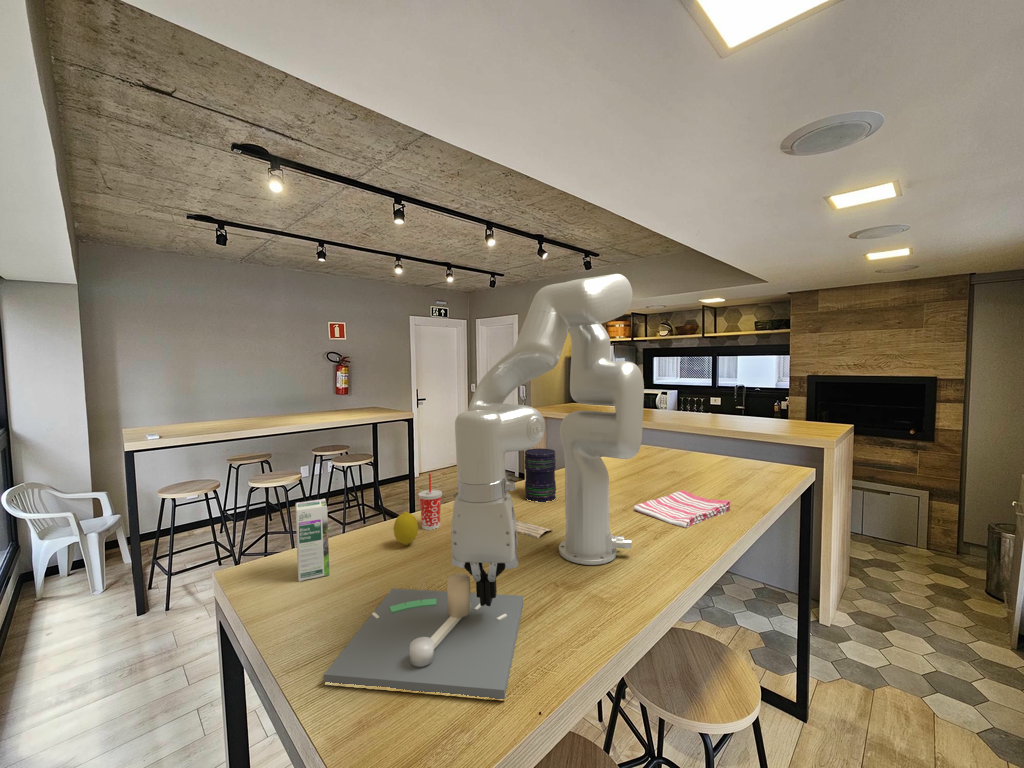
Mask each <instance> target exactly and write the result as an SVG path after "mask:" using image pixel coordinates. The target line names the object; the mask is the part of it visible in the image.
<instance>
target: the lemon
mask: <svg viewBox="0 0 1024 768" xmlns="http://www.w3.org/2000/svg"><path fill="white" fill-rule="evenodd" d="M393 525H394V526H393V534H394V538H395V540H396V541H397V542H398V543H400V544H402V545H404V546H406V547H407V546H409V544H410V543H412V542H414V541H415V539H416V538H417V536H418V532H419V525H418V521H417V518H416V517H415V515H414V514H412V513H410V512H408V511H404V512H403V513H401V514H399V515H398V516H397V517H396V519H395V521H394V523H393Z"/></svg>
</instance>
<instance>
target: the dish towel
mask: <svg viewBox="0 0 1024 768" xmlns="http://www.w3.org/2000/svg"><path fill="white" fill-rule="evenodd" d="M731 504H732V503H731V501H730V500H729V499H721V500H720V499H710V498H709V499H708V498H706V497H701V496H698V495H694V494H693V493H691V492H689V491H686V490H683V489H681V490H679V491H675V492H673V493H671V494H668V495H664V496H662V497H659V498H658V497H657V498H656V499H651V500H650V499H649V500H647V501H645V502H642V503H636V504H634V506H633V509H634V511H636V512H637V513H640V514H643V515H646V516H649V517H651V518H655V519H657V520H659V521H662V522H664V523H666V524H667V523H668V524H671V525H674V526H677V527H681V528H683V529H687V528H690V527H691V526H694V525H697V524H700V523H702V522H703V521H706V520H709V519H713V518H714V517H717V516H718V517H719V516H721V515H723V514H726V513H727V512H730V508H731Z"/></svg>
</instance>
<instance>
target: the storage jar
mask: <svg viewBox="0 0 1024 768" xmlns="http://www.w3.org/2000/svg"><path fill="white" fill-rule="evenodd" d="M556 461H557V460H556V451H555V450H554V449H550V448H531V449H528V450H524V469H525V481H524V491H525V493H524V494H525V497H526V498H527V499H528V500H531V501H538V502H546V501H552V500H554V499H555V498H556V499H557V497H556V492H557V485H556V478H555V477H556V473H555V472H556V471H555V470H556V467H557V466H556ZM525 497H524V498H525ZM556 499H555V500H556ZM555 500H554V501H555ZM552 502H553V501H552Z"/></svg>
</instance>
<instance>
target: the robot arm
mask: <svg viewBox="0 0 1024 768" xmlns="http://www.w3.org/2000/svg"><path fill="white" fill-rule="evenodd" d="M532 299H533V300H532V302H531V304H530V307H529V309H528V312H527V315H526V316H525V320H524V322H523V323H522V324H523V325H522V327H521V330H520V332H519V335H518V338H517V340H516V342H515V344H514V347H513V348H512V349H511V350H510V351H508V353H507V354H505V355H504V356H503V357H501V358H500V360H498V361H496V362H497V363H495V365H493V366H492V367H491V368H490V369H489V370H488V371H487V372H486V373H485V374H484V376H483V377H482V378H481V379H480V381H479V383H478V384H477V387H475V389H474V393H473V395H472V398H471V400H470V403H469V405H468V409H467V411H465V412H460V413H459V414H458V415H457V416H456V418H455V420H454V421H455V422H454V432H455V436H454V437H455V454H456V476H457V495H456V496H455V498H454V502H453V506H452V507H453V508H452V516H451V517H452V518H451V533H450V534H451V535H450V538H451V539H450V549H451V556H452V559H451V564H452V566H453V567H458V568H461V569H465V570H466V572H468V573H469V574H470V575H471V576H472V579H473V581H475V589H476V590H475V591H476V592H475V593H477V597H479V598H480V606H484V605H485V604H486V605H487V606H491V602H492V599H493V598H496V594H497V578H498V577H500V575H501V574H502V573H503V572H504V570H511V569H516V568H518V566H519V562H520V560H519V556H518V553H517V550H518V533H517V528H516V513H515V512H516V511H515V506H514V502H513V498H512V495H511V494H510V493H509V492H511V491H516V490H515V489H516V484H515V483H516V482H515V481H510V480H508V478H507V475H506V462H505V461H506V459H505V454H506V453H509V452H511V453H512V452H519V451H520V452H523V451H526V450H529V449H534V447H536V446H537V445H538V444H539V443H540V442H541V441H542V439H543V437H544V435H545V432H546V422H545V418H544V417H543V415H542V413H541V412H540V411H539V410H538V409H536V408H534V407H532V406H530V405H524V404H513V403H512V404H509V403H504V402H505V400H506V398H507V397H508V396H509V395H510V394H511V393H512V392H513V391H515V389H517V388H518V387H520V386H521V385H524V384H525V383H527V382H530V381H531V380H534V379H537V378H538V377H540V376H542V375H544V374H546V373H548V372H550V371H551V370H553V369H555V368H556V366H557V365H558V363H559V361H560V358H561V354H562V353H563V352H562V351H563V348H564V346H565V343H566V340H567V337H568V334H569V337H570V342H571V356H570V357H571V359H570V371H569V372H570V374H569V375H570V376H569V393H570V396H571V398H572V400H573V401H574V402H576V403H579V404H581V405H592V406H609V407H612V406H613V407H614V408H615V409H614V410H615V412H613V411H612V412H610V411H609V412H608V411H601V410H600V411H597V410H575V411H572V412H569V413H568V414H566V415H565V416H564V417H563V419H562V421H561V423H560V427H559V436H560V441H561V447H562V453H563V459H564V477H565V479H564V480H565V481H564V490H565V491H564V495H565V496H564V497H565V500H564V501H565V505H564V506H565V539H564V540H563V541H561V542H560V543H559V545H558V553H559V555H560V556H561V557H562V558H564V559H565V560H567V561H568V562H572V563H575V564H578V565H579V564H580V565H586V566H587V565H588V566H595V565H596V566H598V565H604V564H607V563H610V562H612V561H613V560H615V558H616V557H617V549H627V550H628V549H629V550H630V549H631V550H632V546H633V545H632V539H630V538H629V539H628V538H627V539H626V538H625V536H624V535H614V534H612V533H611V529H610V478H609V477H610V476H609V472H608V468H607V467H606V464H605V462H604V461H603V459H602V457H604V458H613V459H620V460H629V459H633V458H634V457H636V456H637V455H638V454H639V452H640V450H641V447H642V446H641V445H642V441H643V440H642V439H643V423H644V422H643V421H644V420H643V419H644V401H645V399H644V398H645V385H644V384H645V382H644V377H643V374H642V371H641V369H640V367H639V366H638V365H637V364H636V363H634V362H632V361H627V360H626V361H625V360H622V361H621V360H617V361H614V360H613V361H611V337H610V336H609V334H608V331H607V330H606V328H605V327H604V326H603V324H604V323H607V322H610V321H612V320H615V319H618V318H619V317H622V316H624V315H625V314H626V313H627V312H628V311H629V309H630V308H631V305H632V302H633V288H632V286H631V283H630V281H629V280H628V278H627V277H625V276H624V275H623V274H620V273H612V274H606V275H599V276H592V277H583V278H579V279H573V280H568V281H566V282H565V281H564V282H559V283H553V284H549V285H545V286H543V287H541V288H540V289H539V290H538V291H537V292H536V293H535V295H534V297H533V298H532ZM484 564H488V565H489V566H488V572H486V570H485V569H484Z"/></svg>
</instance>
